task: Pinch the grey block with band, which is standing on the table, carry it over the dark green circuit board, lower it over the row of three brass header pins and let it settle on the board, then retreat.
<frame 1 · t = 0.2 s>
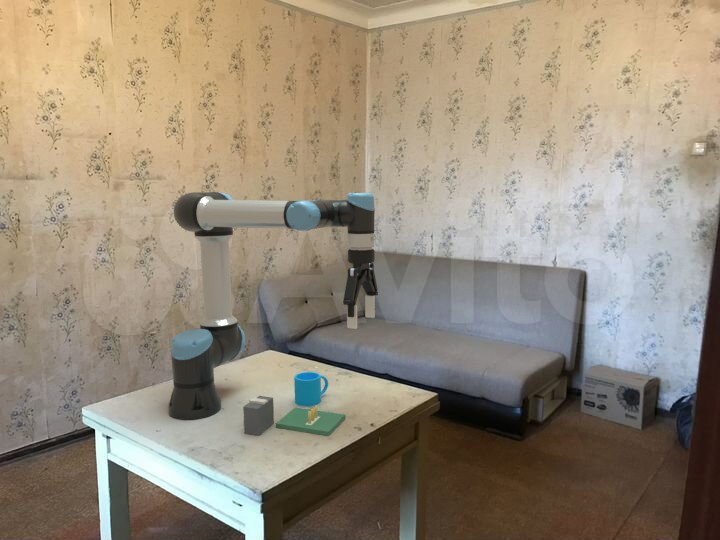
hand: (361, 322, 155), 28 cm above the table, fingers open, 13 cm apart
mug: (312, 400, 171), on the table
grey block with band: (259, 428, 150), on the table
board: (311, 422, 154), on the table
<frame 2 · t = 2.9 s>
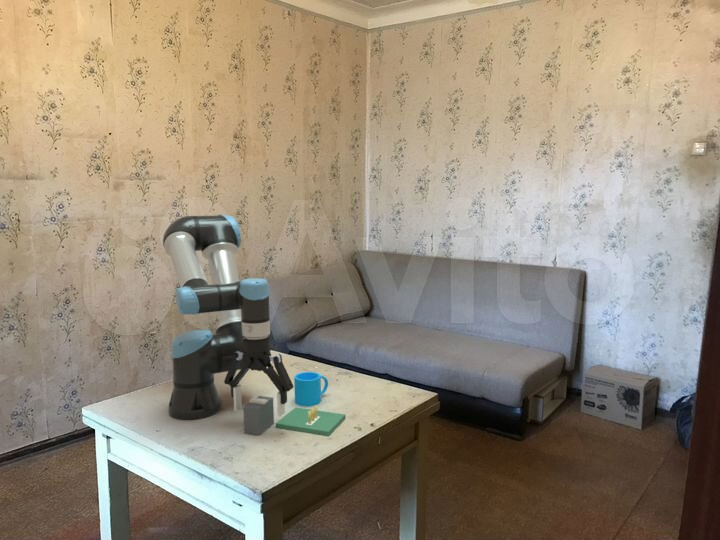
hand: (259, 411, 149), 5 cm above the table, fingers open, 13 cm apart
nothing on the table moved.
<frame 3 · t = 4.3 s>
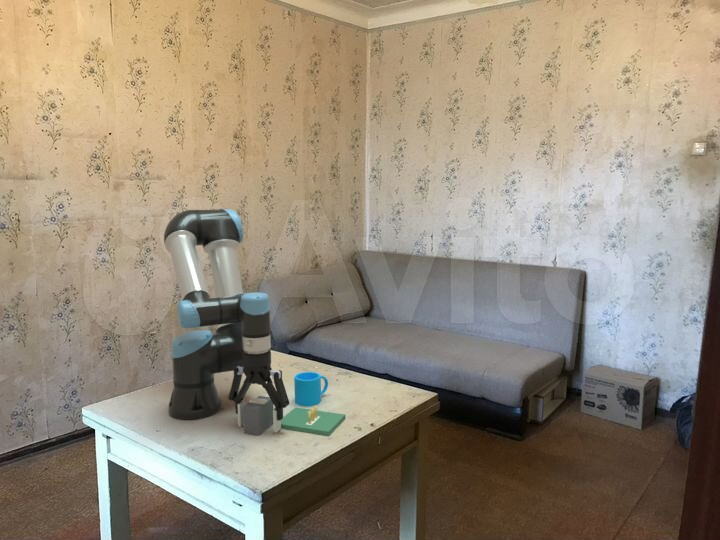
hand: (259, 427, 150), 0 cm above the table, fingers open, 10 cm apart
nothing on the table moved.
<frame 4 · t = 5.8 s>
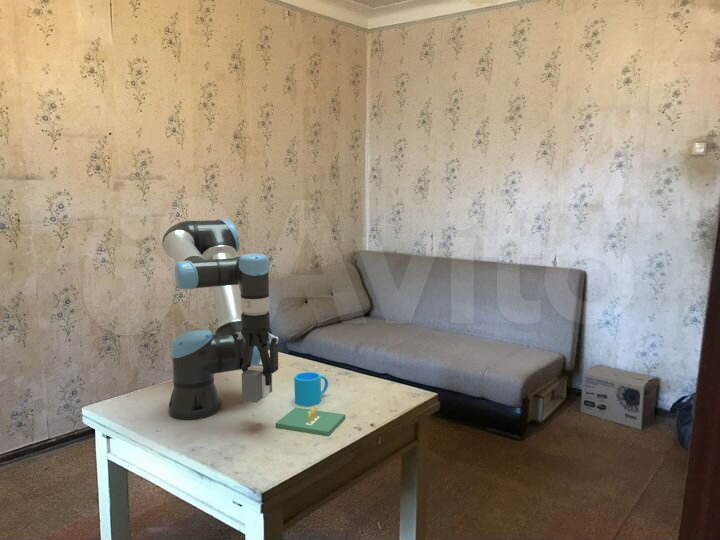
hand: (257, 394, 150), 10 cm above the table, fingers closed on grey block with band, 4 cm apart
grey block with band: (257, 395, 149), point 9 cm above the table, touching gripper
everything else where it was.
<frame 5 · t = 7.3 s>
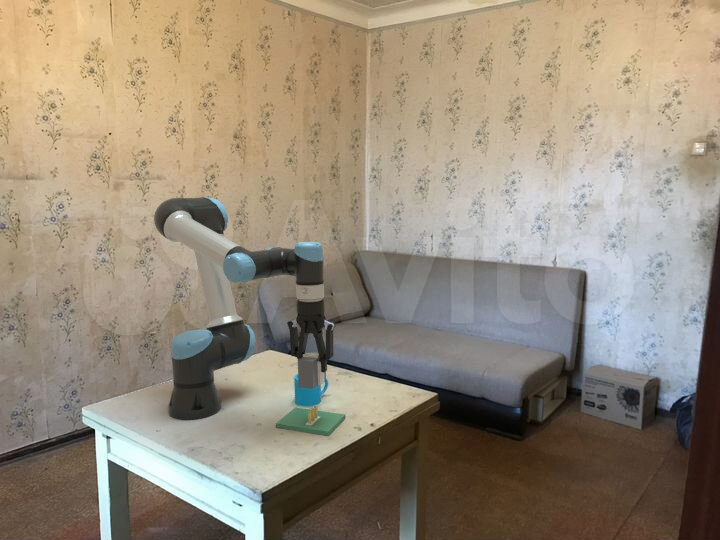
hand: (312, 381, 150), 13 cm above the table, fingers closed on grey block with band, 4 cm apart
grey block with band: (312, 383, 150), point 12 cm above the table, touching gripper
everything else where it was.
when the fingers open (2 cm above the table, at t = 9.2 s): grey block with band stays where it is, resting on board.
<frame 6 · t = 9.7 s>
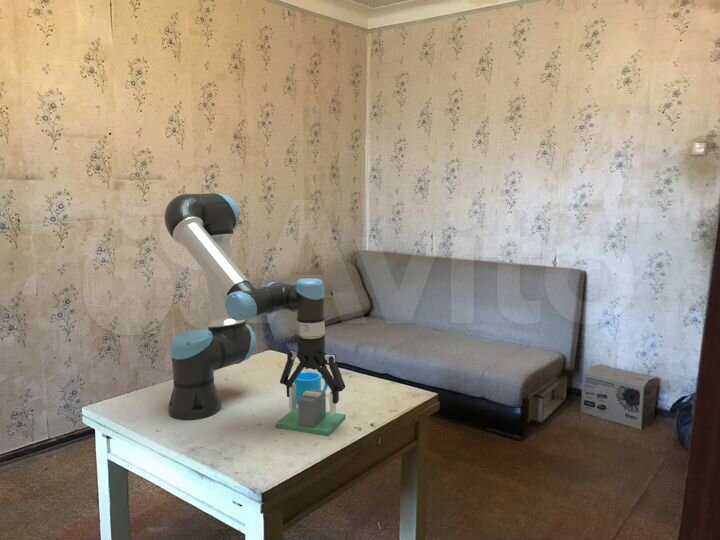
hand: (312, 411, 152), 4 cm above the table, fingers open, 11 cm apart
grey block with band: (312, 421, 152), point 1 cm above the table, touching board
everything else where it was.
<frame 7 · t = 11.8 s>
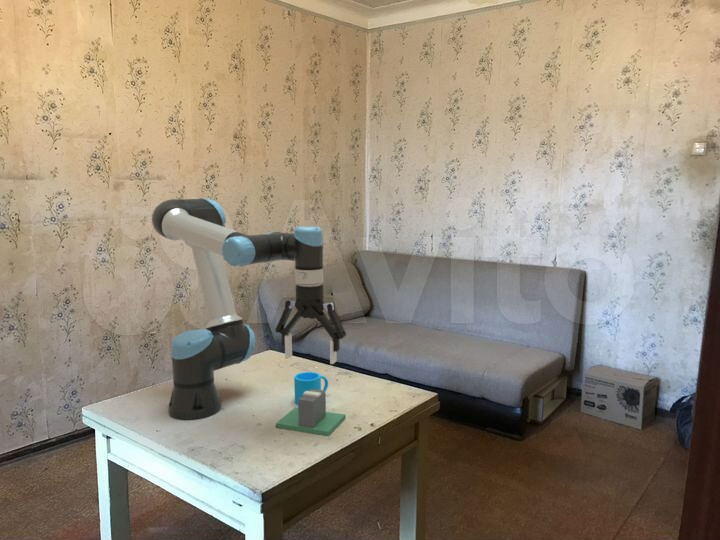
hand: (310, 360, 150), 19 cm above the table, fingers open, 13 cm apart
nothing on the table moved.
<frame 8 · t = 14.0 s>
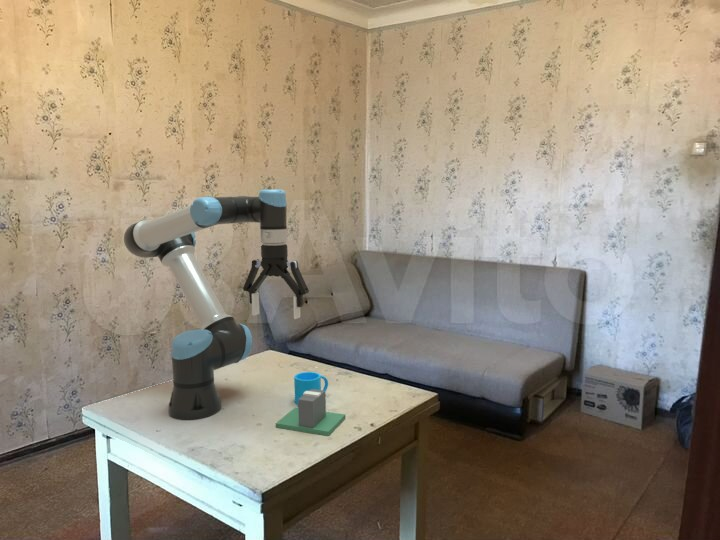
hand: (276, 316, 159), 29 cm above the table, fingers open, 13 cm apart
nothing on the table moved.
at the end: grey block with band 0.2 cm from the target spot, point 1.2 cm above the table; grey block with band tilted 0°; the gripper is holding nothing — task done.
